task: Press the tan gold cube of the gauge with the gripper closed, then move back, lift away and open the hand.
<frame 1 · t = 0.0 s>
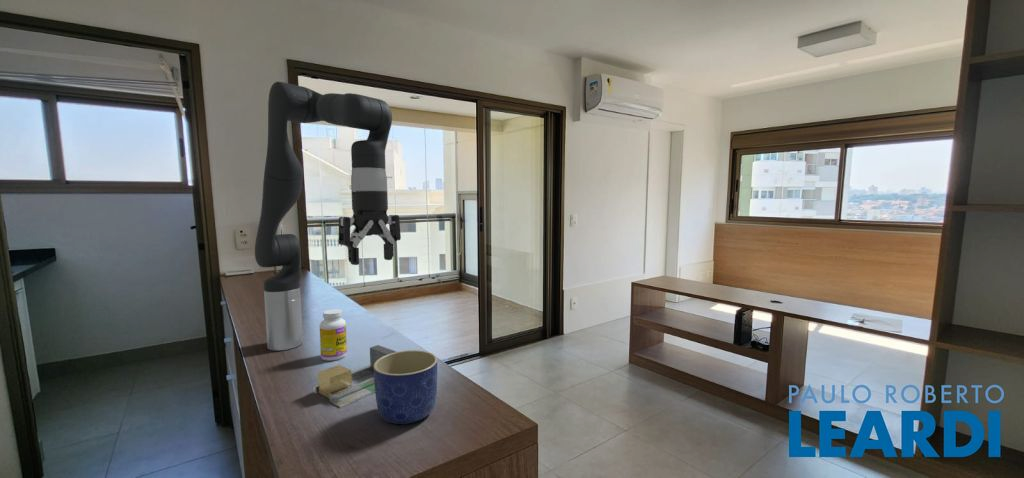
hand: (372, 262, 90), 29 cm above the cabinet, fingers open, 8 cm apart
tan gold cube: (339, 383, 88), point 3 cm above the cabinet, slide at 0.0 cm
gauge: (363, 381, 95), on the cabinet
planter: (407, 414, 81), on the cabinet
supplement bottle: (334, 357, 110), on the cabinet
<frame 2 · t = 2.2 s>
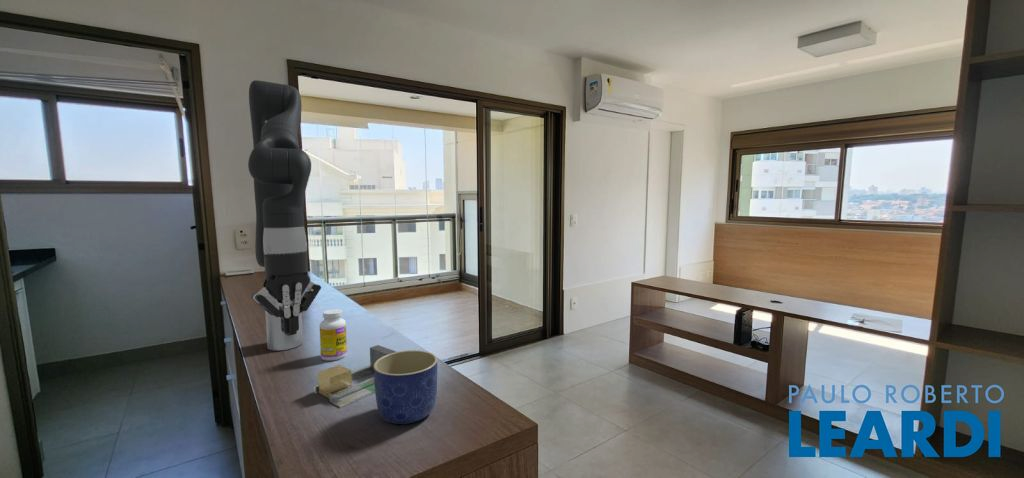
hand: (290, 334, 81), 16 cm above the cabinet, fingers closed
nothing on the cabinet moved.
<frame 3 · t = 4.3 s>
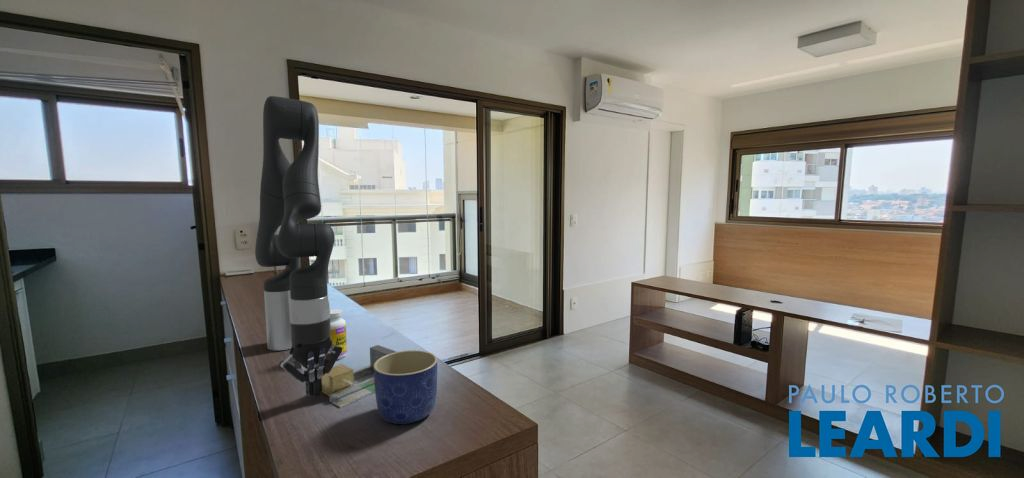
hand: (314, 395, 86), 1 cm above the cabinet, fingers closed
tan gold cube: (341, 382, 89), point 3 cm above the cabinet, slide at 0.5 cm, touching gripper
everything else where it was.
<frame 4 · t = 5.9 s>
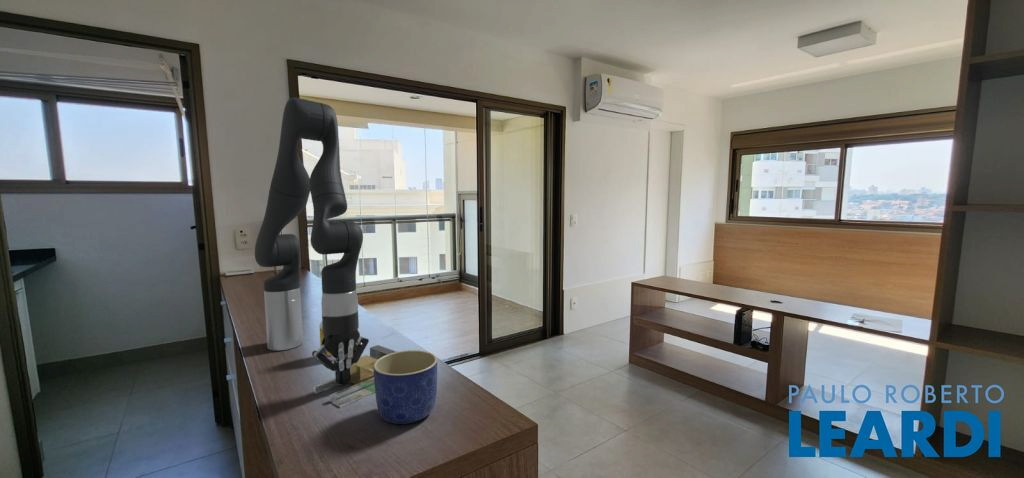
hand: (343, 384, 91), 1 cm above the cabinet, fingers closed
tan gold cube: (368, 372, 94), point 3 cm above the cabinet, slide at 7.2 cm, touching gripper
everything else where it was.
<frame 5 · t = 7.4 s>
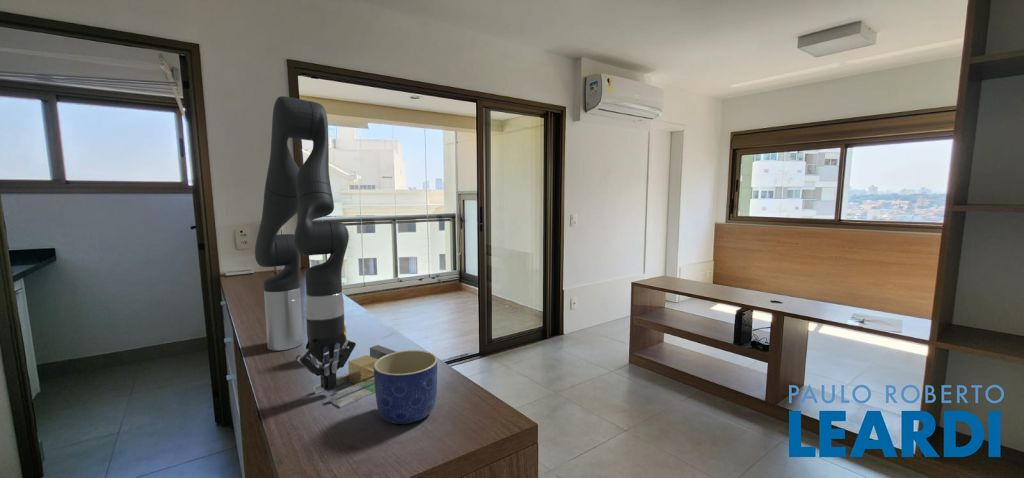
hand: (328, 389, 88), 1 cm above the cabinet, fingers closed
tan gold cube: (368, 372, 94), point 3 cm above the cabinet, slide at 7.3 cm
everything else where it was.
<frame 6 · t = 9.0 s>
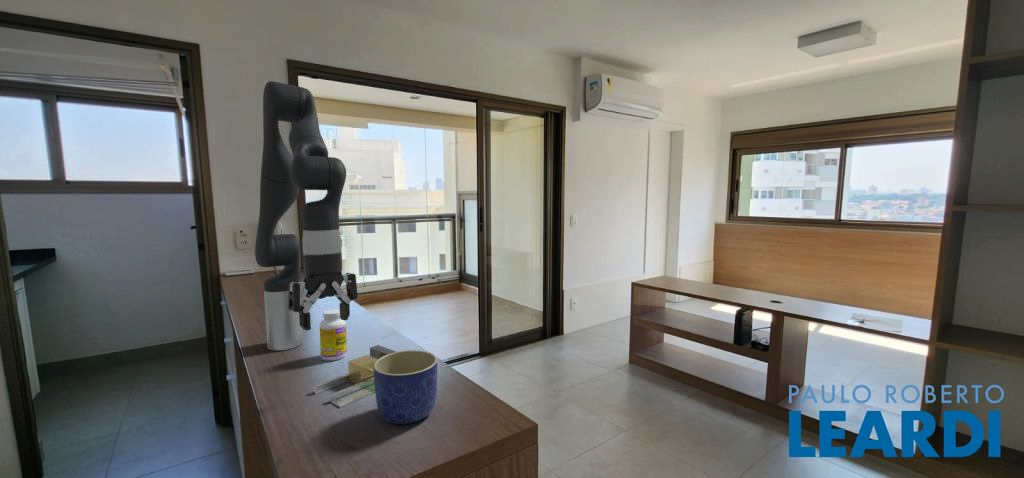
hand: (325, 324, 87), 16 cm above the cabinet, fingers open, 8 cm apart
nothing on the cabinet moved.
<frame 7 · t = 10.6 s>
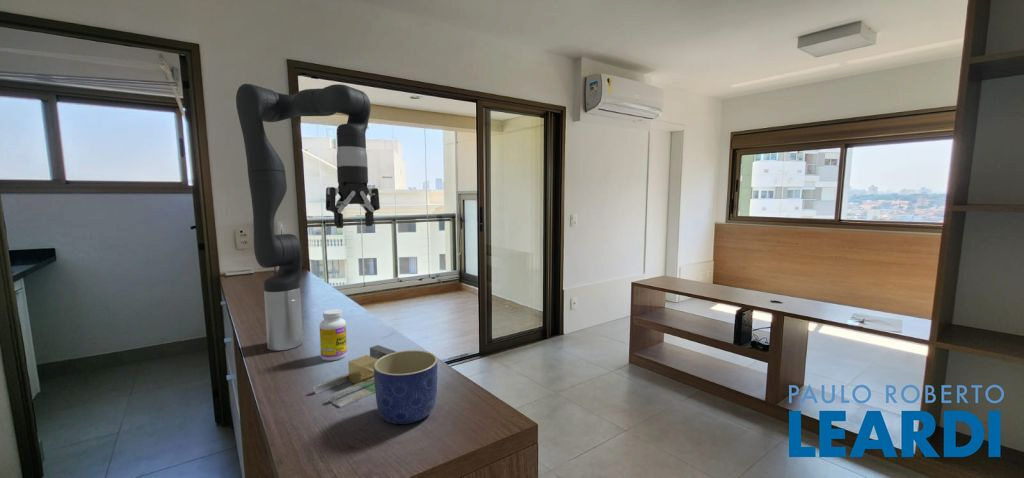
hand: (354, 226, 107), 36 cm above the cabinet, fingers open, 8 cm apart
nothing on the cabinet moved.
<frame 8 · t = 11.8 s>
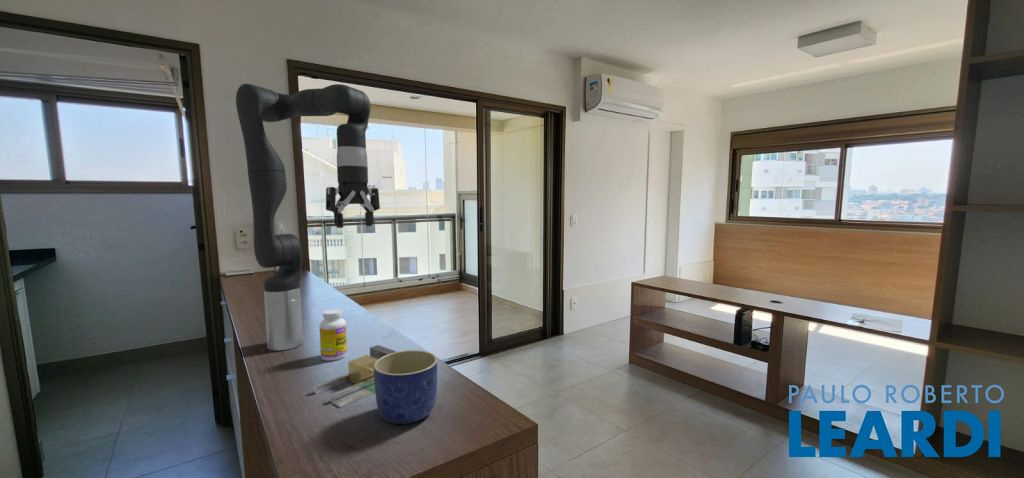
hand: (354, 226, 107), 36 cm above the cabinet, fingers open, 8 cm apart
nothing on the cabinet moved.
at the end: tan gold cube slide at 7.3 cm; the gripper is holding nothing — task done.
